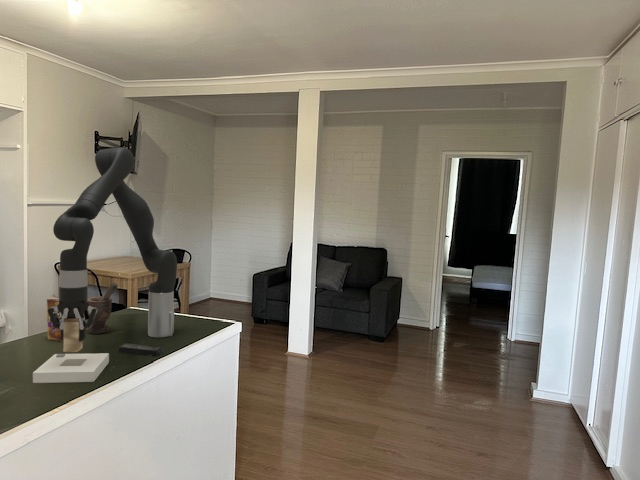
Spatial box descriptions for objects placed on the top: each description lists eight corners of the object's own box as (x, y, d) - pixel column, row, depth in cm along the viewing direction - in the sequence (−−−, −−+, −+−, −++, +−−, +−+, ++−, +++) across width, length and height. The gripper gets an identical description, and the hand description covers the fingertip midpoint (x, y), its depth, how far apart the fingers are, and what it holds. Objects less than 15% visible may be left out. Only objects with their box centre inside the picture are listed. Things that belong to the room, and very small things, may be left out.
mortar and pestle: (122, 329, 186) (122, 280, 184) (115, 335, 178) (115, 283, 176) (92, 328, 185) (92, 279, 183) (83, 334, 176) (83, 283, 175)
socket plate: (108, 362, 149) (108, 351, 149) (93, 381, 133) (93, 369, 133) (54, 363, 146) (54, 352, 146) (32, 383, 130) (32, 370, 130)
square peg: (82, 347, 141) (82, 315, 140) (78, 351, 137) (78, 318, 137) (68, 347, 141) (68, 315, 140) (63, 351, 137) (63, 318, 136)
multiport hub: (125, 349, 163) (125, 343, 163) (163, 353, 161) (163, 347, 160) (117, 353, 159) (117, 346, 159) (156, 357, 156) (156, 351, 156)
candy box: (46, 339, 169) (46, 298, 167) (56, 336, 173) (56, 296, 171) (65, 343, 166) (65, 301, 165) (75, 339, 170) (75, 298, 169)
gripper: (102, 282, 142) (102, 337, 144) (52, 281, 140) (52, 337, 141) (95, 287, 135) (94, 344, 136) (42, 286, 132) (42, 345, 134)
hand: (73, 340), depth 139 cm, fingers closed on square peg, 4 cm apart
